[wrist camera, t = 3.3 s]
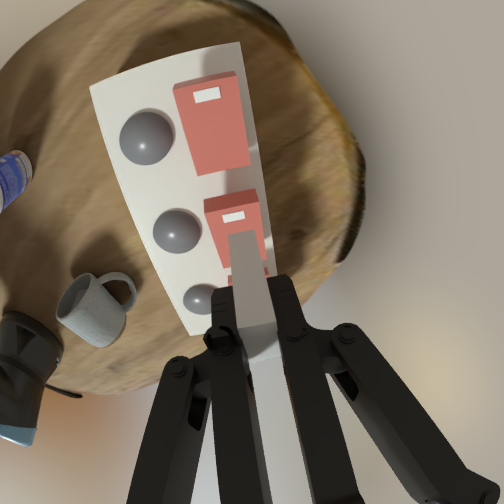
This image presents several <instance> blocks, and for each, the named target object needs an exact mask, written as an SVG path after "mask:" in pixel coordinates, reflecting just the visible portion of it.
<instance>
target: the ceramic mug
mask: <svg viewBox="0 0 504 504" xmlns="http://www.w3.org/2000/svg"><path fill="white" fill-rule="evenodd" d="M111 280H123V281H126V282H127V284H128V285H129V287H130V288H129V290H130V291H131V292H132V296H131V298H130V299H129V301H128V302H127V303H126V304H125V305H123V306H121V305H120V304H119V303H118V302H117V301H116V299H115V298H114V297H113V296H112V295H111V294H110V293H109V292H108V291H107V290H106V289H105V288H104V286H103V285H102V284H103V283H105V282H108V281H111ZM136 297H137V292H136V288H135V285H134V283H133V281H132V280H131V278H130V277H128V276H127V275H126V274H124V273H121V272H110V273H107V274H105V275H103V276H101V277H99V278H97V279H96V277H95V276H94V275H93V274H92V273H84V274H82V275H80V276H79V277H77V278H76V279H75V280H73V282H72V283H71V284H70V285H69V286H68V287H67V288H66V290H65V291H64V293H63V294H62V296H61V298H60V300H59V302H58V305H57V308H56V318H57V320H58V321H60V322H61V323H62V324H64V325H65V326H66V327H68V328H69V329H70V330H72V331H73V332H74V333H76V334H77V335H79V336H80V337H81V338H83V339H84V340H86V341H87V342H88V343H90V344H92V345H94V346H96V347H99V348H106V347H109V346H111V345H112V344H114V343H115V342H116V341H117V340H118V339H119V338H120V336H121V335H122V333H123V331H124V329H125V326H126V312H128V311H129V310H130V309H131V308H132V307H133V305H134V304H135V302H136Z"/></svg>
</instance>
